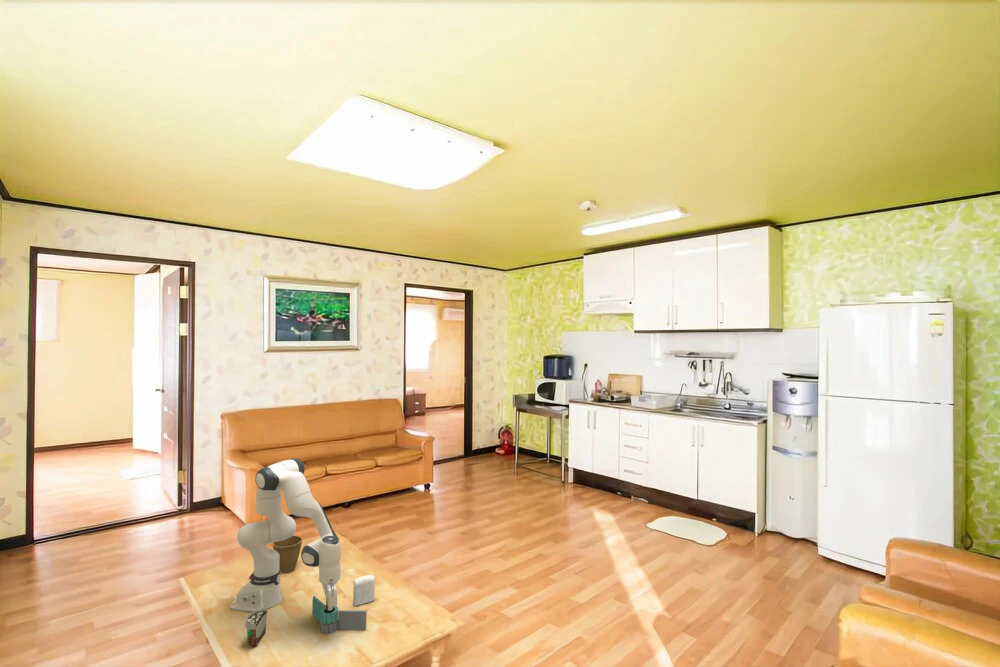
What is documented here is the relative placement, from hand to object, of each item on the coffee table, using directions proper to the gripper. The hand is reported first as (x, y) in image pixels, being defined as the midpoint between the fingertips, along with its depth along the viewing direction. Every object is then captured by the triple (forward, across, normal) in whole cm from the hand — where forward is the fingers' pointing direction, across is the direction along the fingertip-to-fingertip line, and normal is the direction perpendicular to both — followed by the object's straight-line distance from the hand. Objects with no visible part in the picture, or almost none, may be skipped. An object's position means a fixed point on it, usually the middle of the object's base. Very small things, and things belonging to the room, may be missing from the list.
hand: (329, 607), depth 210 cm
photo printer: (+10, +16, -18) cm, 26 cm away
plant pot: (+10, +67, +13) cm, 69 cm away
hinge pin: (+6, 0, 0) cm, 6 cm away
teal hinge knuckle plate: (+9, +6, +2) cm, 11 cm away
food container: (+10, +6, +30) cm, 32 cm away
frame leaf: (+10, -3, -6) cm, 12 cm away
